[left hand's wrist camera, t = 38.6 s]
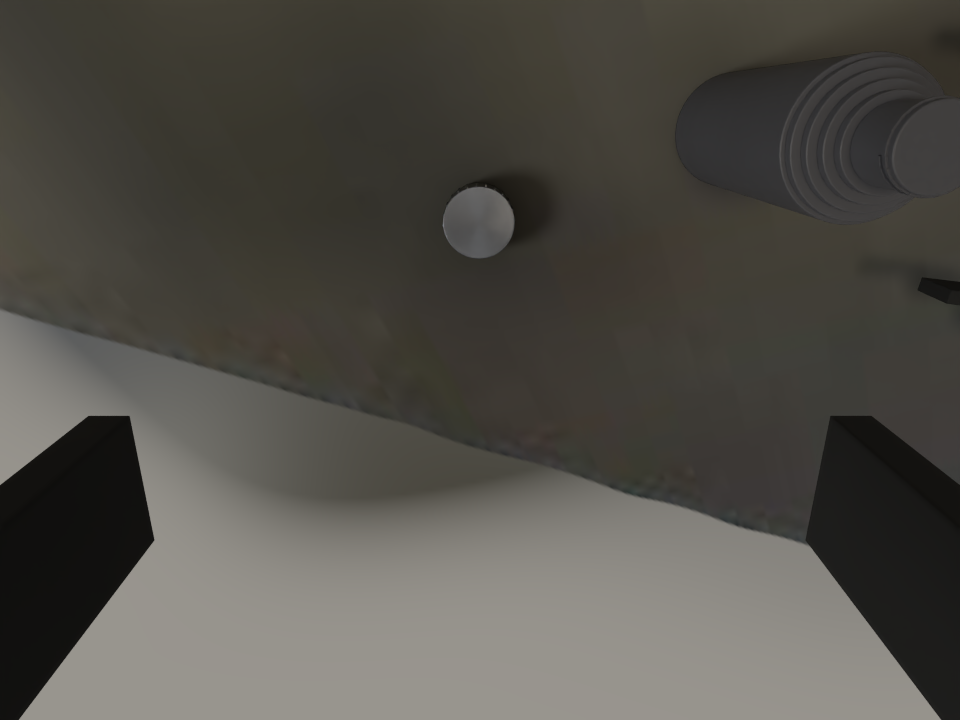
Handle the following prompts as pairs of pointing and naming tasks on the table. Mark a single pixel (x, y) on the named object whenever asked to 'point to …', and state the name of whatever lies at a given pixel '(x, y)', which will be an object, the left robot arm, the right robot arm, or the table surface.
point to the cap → (478, 220)
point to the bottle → (825, 135)
